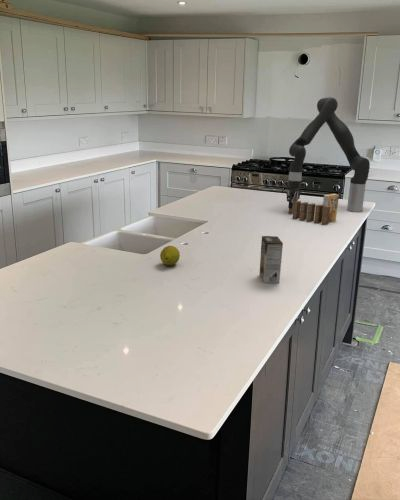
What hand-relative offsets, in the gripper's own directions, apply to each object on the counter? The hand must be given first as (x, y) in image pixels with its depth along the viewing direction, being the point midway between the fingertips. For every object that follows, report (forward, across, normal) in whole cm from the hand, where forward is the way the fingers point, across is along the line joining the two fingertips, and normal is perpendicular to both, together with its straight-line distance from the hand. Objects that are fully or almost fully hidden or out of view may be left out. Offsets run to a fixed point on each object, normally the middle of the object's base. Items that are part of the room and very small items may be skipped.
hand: (292, 207), depth 307 cm
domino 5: (+3, +11, +22) cm, 25 cm away
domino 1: (+3, 0, 0) cm, 3 cm away
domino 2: (+3, +11, +8) cm, 14 cm away
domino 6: (+3, +11, +26) cm, 29 cm away
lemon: (+4, +122, +9) cm, 122 cm away
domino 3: (+3, +11, +13) cm, 17 cm away
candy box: (+4, +4, +25) cm, 26 cm away
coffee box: (+4, +108, +48) cm, 118 cm away
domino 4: (+3, +11, +18) cm, 21 cm away
